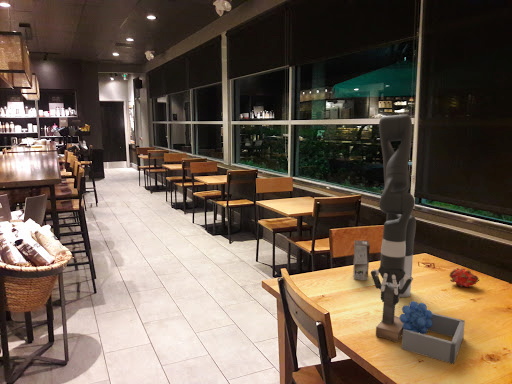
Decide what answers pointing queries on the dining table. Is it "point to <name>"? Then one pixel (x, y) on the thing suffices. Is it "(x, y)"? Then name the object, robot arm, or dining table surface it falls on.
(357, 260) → the coffee box
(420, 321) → the grapes
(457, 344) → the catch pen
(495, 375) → the dining table surface
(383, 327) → the post on wooden base
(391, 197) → the robot arm
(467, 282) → the dragon fruit
